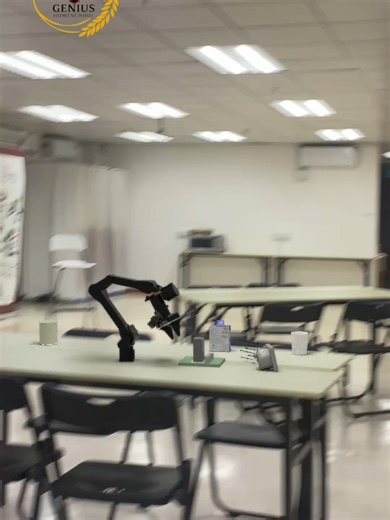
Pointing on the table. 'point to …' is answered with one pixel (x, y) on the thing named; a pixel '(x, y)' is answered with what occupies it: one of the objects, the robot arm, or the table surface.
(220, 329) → the ink cartridge box
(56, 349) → the table surface
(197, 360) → the grey square pillar
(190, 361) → the board
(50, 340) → the can
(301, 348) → the white cup
